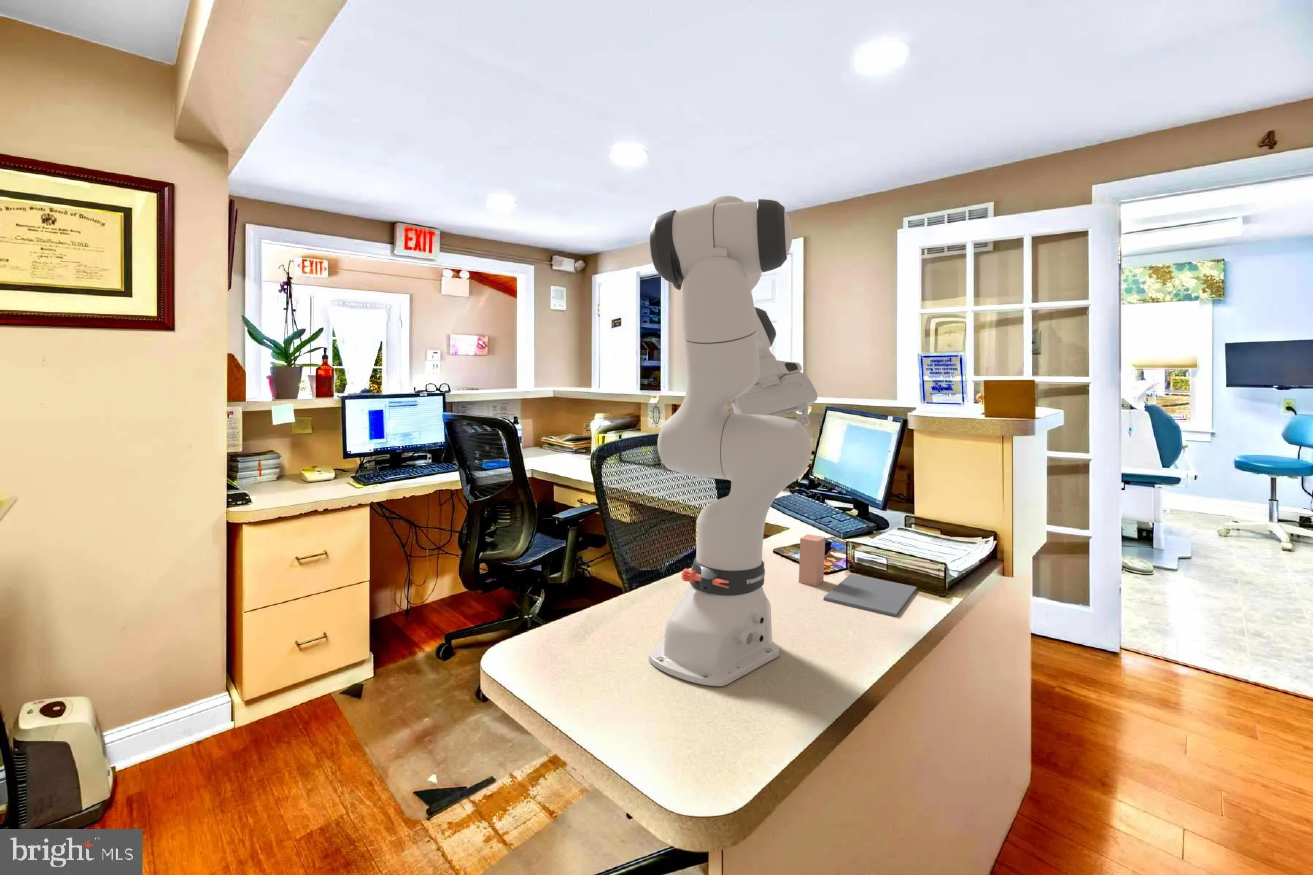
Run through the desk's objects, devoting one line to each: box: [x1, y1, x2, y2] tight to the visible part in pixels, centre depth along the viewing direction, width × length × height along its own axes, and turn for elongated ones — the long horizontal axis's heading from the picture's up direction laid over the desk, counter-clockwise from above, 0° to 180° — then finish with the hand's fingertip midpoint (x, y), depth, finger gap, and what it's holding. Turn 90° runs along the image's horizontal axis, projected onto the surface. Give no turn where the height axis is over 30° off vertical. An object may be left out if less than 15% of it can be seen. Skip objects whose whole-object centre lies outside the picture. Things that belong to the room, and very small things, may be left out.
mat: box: [823, 573, 917, 618], centre depth 119 cm, size 18×14×1 cm
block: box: [798, 533, 826, 587], centre depth 126 cm, size 4×4×10 cm
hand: (788, 430), depth 127 cm, fingers open, 8 cm apart
